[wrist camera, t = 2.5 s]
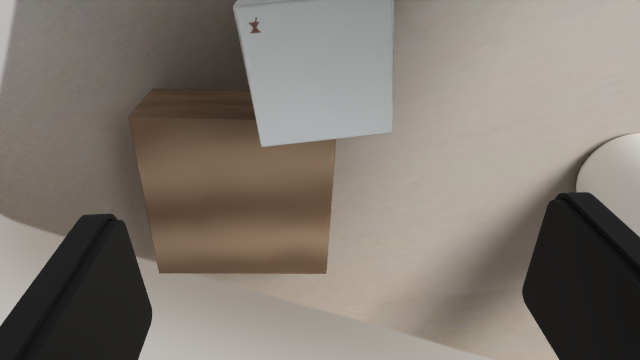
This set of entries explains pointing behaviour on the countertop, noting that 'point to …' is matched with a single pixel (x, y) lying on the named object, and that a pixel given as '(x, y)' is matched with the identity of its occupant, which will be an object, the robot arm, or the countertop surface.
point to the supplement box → (318, 67)
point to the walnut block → (229, 187)
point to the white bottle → (615, 178)
